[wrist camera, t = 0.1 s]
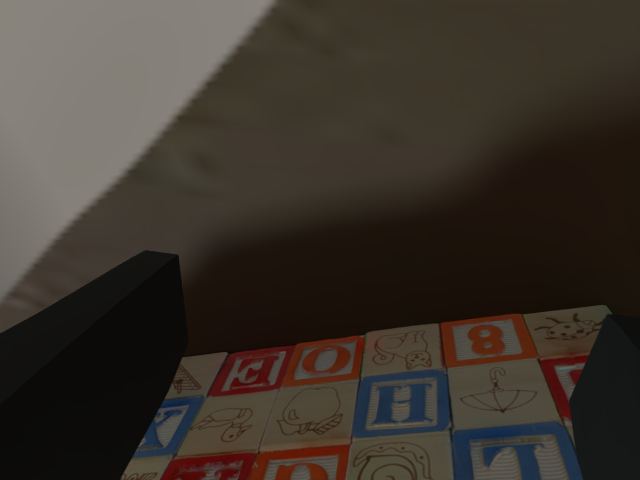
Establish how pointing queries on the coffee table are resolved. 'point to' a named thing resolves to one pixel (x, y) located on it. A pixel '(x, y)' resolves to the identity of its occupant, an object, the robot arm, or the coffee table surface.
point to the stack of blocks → (381, 405)
